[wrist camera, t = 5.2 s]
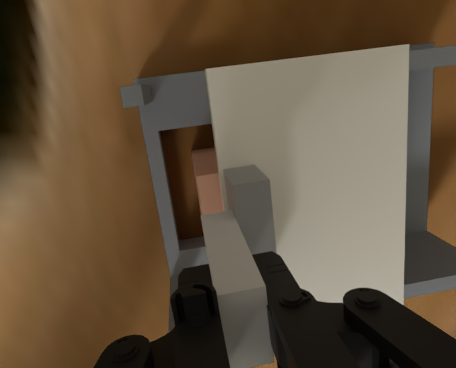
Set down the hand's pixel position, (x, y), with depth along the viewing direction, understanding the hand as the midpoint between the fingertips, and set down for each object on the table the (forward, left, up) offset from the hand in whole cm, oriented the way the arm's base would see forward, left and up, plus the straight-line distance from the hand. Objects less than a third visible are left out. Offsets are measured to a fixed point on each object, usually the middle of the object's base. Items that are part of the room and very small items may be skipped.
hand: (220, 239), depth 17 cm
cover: (+5, 0, -3) cm, 6 cm away
